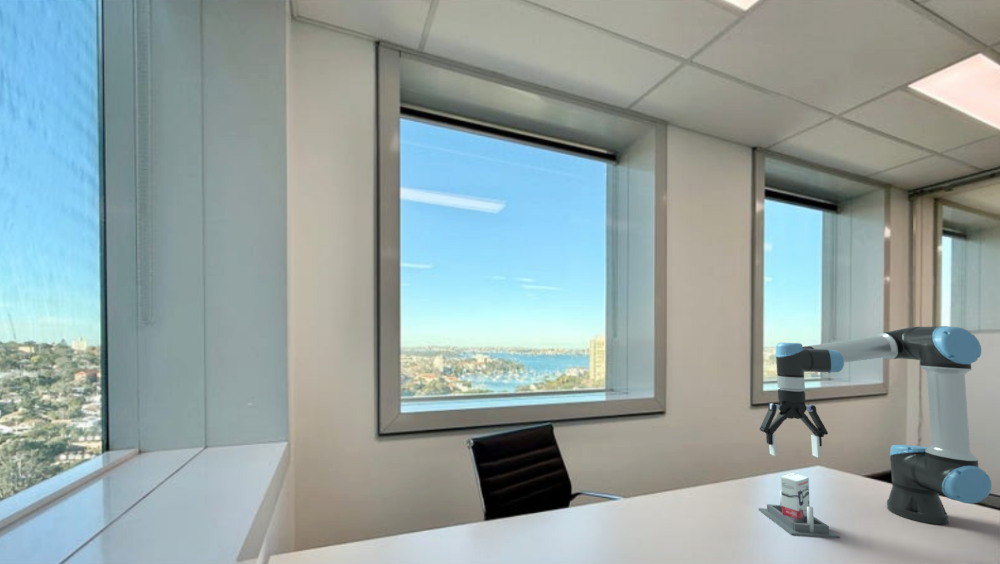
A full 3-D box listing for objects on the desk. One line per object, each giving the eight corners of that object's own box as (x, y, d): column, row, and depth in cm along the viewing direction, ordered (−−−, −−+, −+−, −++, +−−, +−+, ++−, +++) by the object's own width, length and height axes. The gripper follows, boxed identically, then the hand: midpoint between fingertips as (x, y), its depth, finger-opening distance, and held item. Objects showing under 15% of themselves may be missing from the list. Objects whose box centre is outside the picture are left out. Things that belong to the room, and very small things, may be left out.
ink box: (798, 520, 133) (797, 481, 134) (781, 514, 137) (780, 476, 138) (810, 514, 138) (809, 476, 139) (793, 509, 142) (792, 472, 143)
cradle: (800, 512, 146) (799, 489, 146) (839, 538, 128) (838, 511, 129) (758, 510, 146) (757, 486, 147) (791, 535, 129) (790, 508, 129)
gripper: (822, 389, 145) (826, 453, 142) (746, 386, 146) (749, 451, 144) (838, 392, 137) (842, 460, 135) (758, 389, 139) (761, 457, 136)
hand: (794, 455), depth 139 cm, fingers open, 13 cm apart
